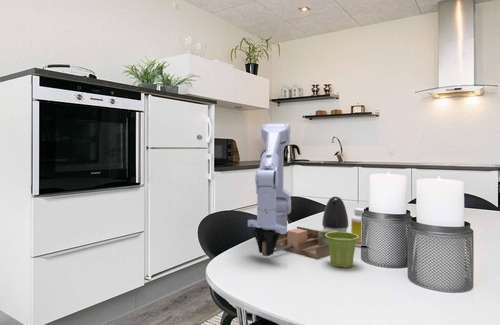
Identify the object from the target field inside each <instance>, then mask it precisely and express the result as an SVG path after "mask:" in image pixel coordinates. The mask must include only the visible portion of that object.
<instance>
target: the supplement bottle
mask: <svg viewBox="0 0 500 325" xmlns="http://www.w3.org/2000/svg"><path fill="white" fill-rule="evenodd" d="M364 209H365V208H363V207H358V208H357V207H356V208H354V215H352V217H351V222H350V223H351V227H350V228H351V230H350V233H353V234H356V235H358V236H359V238H358V239H357V243H356V245H355V247H359V248H362V247H361V229H362V228H361V215H362V213H363V212H364Z"/></svg>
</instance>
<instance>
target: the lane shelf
mask: <svg viewBox="0 0 500 325" xmlns="http://www.w3.org/2000/svg"><path fill="white" fill-rule="evenodd" d="M296 229H302V230H307V241H305V242H302V243H299V248H295V247H290V248H287V249H283V250H282V251H286V252H290V253H294V254H297V255H300V256H304V257H308V258H311V259H316V260H319V259H321V258H325V257H328V256H330V252H329V245H328V241H327V237H326V236H325V234H326V233H329V232H338V231H337V230H331V229H324V228H323V229H321V230H317V229H313V228H312V229H311V228H306V227H302V226H296ZM288 231H289V230H287V233H286V234H281V235H280V236H279V238H278V240H277V242H276V245H275V248H274V249H279V248H282V247H286V246H287V242H288Z"/></svg>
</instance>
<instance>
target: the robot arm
mask: <svg viewBox="0 0 500 325" xmlns="http://www.w3.org/2000/svg"><path fill="white" fill-rule="evenodd" d="M260 132H261V134H260V135H261V139H262V140H263V143H264V144H265V152H263V153H262V155H261V157H260V163H259V167H258V171H257V170H256V171H255V176H254V178H255V180H254V181H255V192H256V195H257V197H256V198H257V200H256V201H257V202H256V208H257V210H256V213H257V214H256V217H257V218H256V219H248V220H247V227H250V228H251V227H253V228H254V229H251V231H252V234H253V236H254V238H255V241H256V243H257V248H258V252H259V254H262V241H266V253H267V255H270V256H271V255H273V254H274V253H275V252H274V250H275V249H276V248H275V245H276V242H277V240H278V238H279V236H280V235H281V234H286V233H287V231H288V215H290V213H291V212H292V198H291V196H292V195H291V193H290V192H289V191H287V190H286V188H284V150H285V148H286V146H289V145H290V143H291V125H290V123H289V122H287V123H262V125H261V130H260Z"/></svg>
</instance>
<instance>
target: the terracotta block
mask: <svg viewBox="0 0 500 325" xmlns="http://www.w3.org/2000/svg"><path fill="white" fill-rule="evenodd" d="M287 231H288V242H287V246H286V247H282V248H274V252H273V253H276V252H279V251H284V250H283V249H287V248H290V247H295V248H299V243H302V242H305V241H307V230H302V229H297V228H293V229H289V230H287ZM261 256H263V257H269V256H271V255H267V253H266V241H262V253H261Z"/></svg>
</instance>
